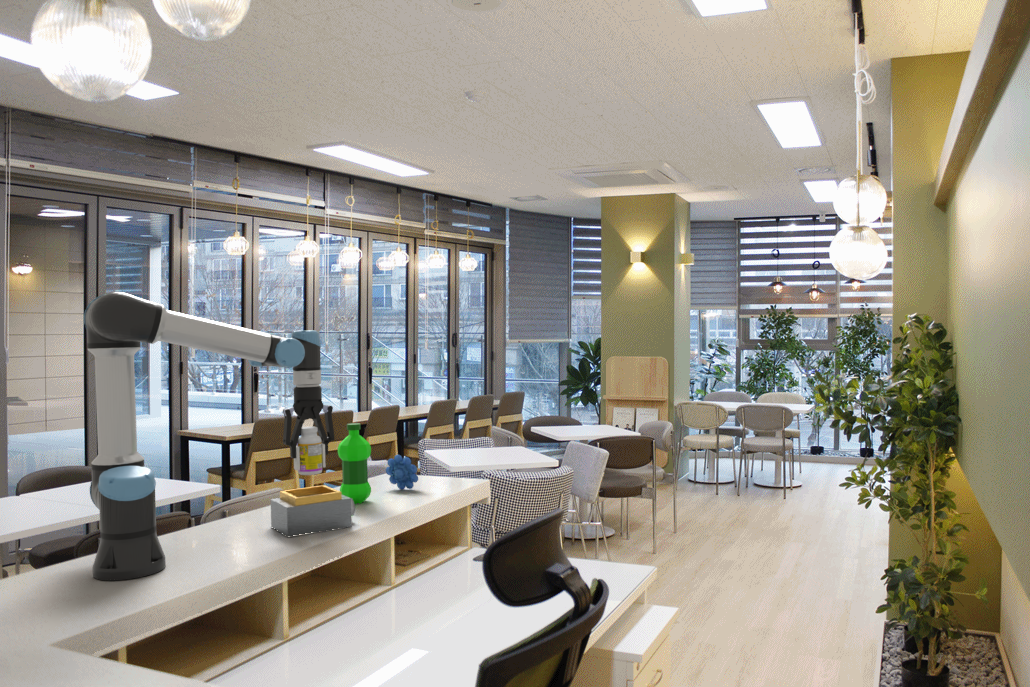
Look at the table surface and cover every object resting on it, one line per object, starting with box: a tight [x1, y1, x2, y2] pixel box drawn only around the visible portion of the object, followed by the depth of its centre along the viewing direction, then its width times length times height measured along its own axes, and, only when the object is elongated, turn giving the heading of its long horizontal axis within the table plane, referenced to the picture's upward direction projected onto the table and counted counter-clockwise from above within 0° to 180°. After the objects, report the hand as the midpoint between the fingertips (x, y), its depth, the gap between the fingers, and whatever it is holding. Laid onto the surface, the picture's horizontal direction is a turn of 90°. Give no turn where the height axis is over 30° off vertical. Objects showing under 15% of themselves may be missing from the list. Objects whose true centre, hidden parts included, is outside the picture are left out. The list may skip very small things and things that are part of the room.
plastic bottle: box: [337, 422, 372, 505], centre depth 253 cm, size 10×10×25 cm
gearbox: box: [270, 484, 356, 537], centre depth 222 cm, size 21×14×10 cm, turn 124°
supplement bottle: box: [296, 426, 323, 476], centre depth 221 cm, size 7×7×13 cm
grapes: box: [385, 454, 419, 491], centre depth 271 cm, size 12×7×12 cm, turn 78°
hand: (309, 468), depth 221 cm, fingers closed on supplement bottle, 7 cm apart
